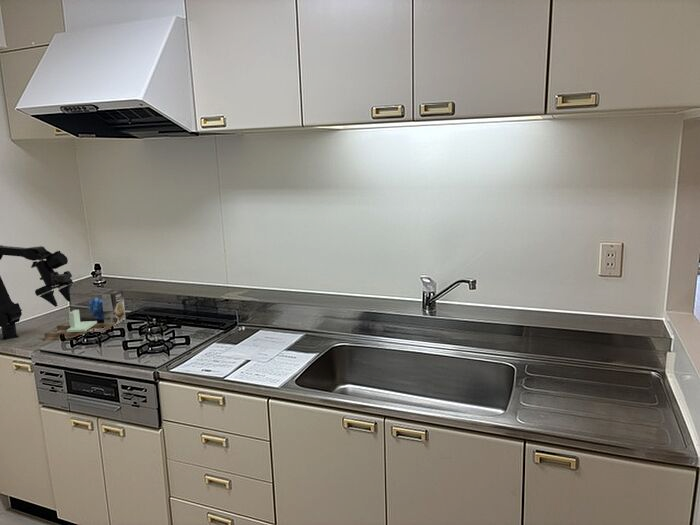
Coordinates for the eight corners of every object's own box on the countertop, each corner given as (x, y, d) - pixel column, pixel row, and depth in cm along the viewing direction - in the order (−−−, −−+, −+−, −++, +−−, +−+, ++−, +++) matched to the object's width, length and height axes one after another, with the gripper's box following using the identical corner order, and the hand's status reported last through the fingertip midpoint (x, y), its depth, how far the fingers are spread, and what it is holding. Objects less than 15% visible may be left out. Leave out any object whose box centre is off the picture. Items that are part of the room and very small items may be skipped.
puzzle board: (43, 340, 233) (43, 334, 232) (60, 330, 248) (59, 324, 248) (102, 337, 235) (102, 332, 234) (115, 327, 251) (114, 322, 250)
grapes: (84, 322, 262) (81, 299, 260) (93, 318, 269) (90, 296, 267) (104, 322, 260) (102, 299, 258) (113, 319, 267) (110, 296, 265)
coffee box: (115, 325, 254) (112, 294, 252) (103, 325, 255) (100, 293, 253) (126, 320, 263) (123, 290, 260) (115, 320, 264) (112, 289, 261)
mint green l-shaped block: (66, 332, 234) (64, 315, 233) (80, 323, 248) (78, 307, 246) (84, 331, 235) (83, 314, 233) (97, 322, 248) (95, 307, 247)
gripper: (48, 269, 221) (64, 302, 223) (74, 262, 240) (89, 292, 242) (27, 279, 223) (43, 311, 225) (55, 271, 241) (70, 301, 243)
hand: (63, 303), depth 234 cm, fingers open, 9 cm apart
